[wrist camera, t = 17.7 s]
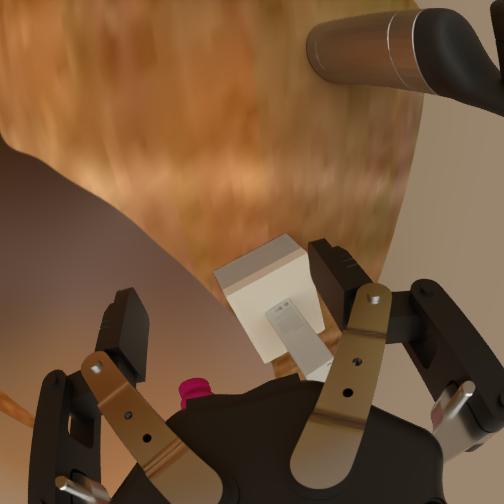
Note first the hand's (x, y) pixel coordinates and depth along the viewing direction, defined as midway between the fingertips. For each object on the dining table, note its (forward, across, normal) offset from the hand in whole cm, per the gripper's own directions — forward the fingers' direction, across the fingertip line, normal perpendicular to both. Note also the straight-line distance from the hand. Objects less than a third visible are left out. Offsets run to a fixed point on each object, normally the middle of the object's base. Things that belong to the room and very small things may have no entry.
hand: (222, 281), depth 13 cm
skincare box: (+20, -6, +24) cm, 32 cm away
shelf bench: (+26, -5, +24) cm, 35 cm away
